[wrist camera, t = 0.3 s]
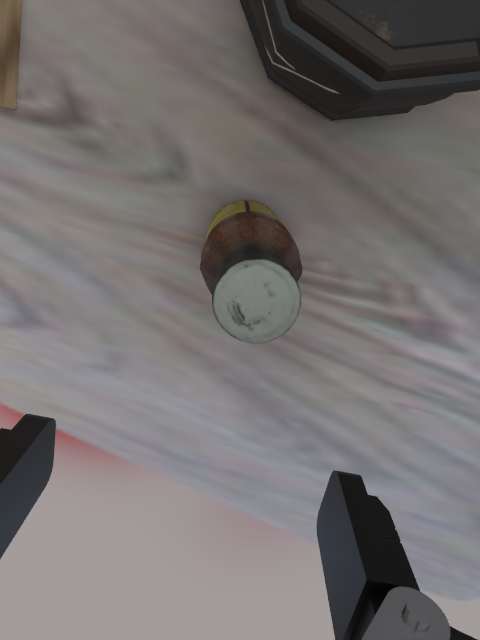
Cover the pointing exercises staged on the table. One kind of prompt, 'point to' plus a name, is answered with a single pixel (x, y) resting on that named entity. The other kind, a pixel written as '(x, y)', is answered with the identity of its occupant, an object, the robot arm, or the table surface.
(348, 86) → the black chalkboard bucket
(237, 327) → the sauce bottle
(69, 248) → the table surface
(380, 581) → the robot arm
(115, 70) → the table surface
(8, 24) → the oak bar
